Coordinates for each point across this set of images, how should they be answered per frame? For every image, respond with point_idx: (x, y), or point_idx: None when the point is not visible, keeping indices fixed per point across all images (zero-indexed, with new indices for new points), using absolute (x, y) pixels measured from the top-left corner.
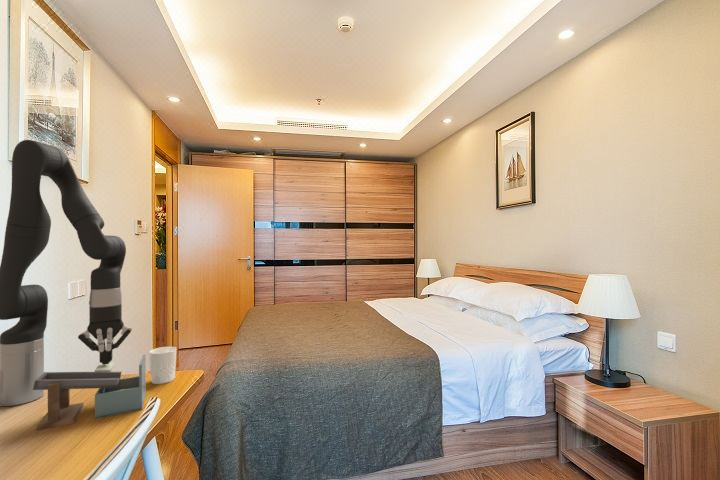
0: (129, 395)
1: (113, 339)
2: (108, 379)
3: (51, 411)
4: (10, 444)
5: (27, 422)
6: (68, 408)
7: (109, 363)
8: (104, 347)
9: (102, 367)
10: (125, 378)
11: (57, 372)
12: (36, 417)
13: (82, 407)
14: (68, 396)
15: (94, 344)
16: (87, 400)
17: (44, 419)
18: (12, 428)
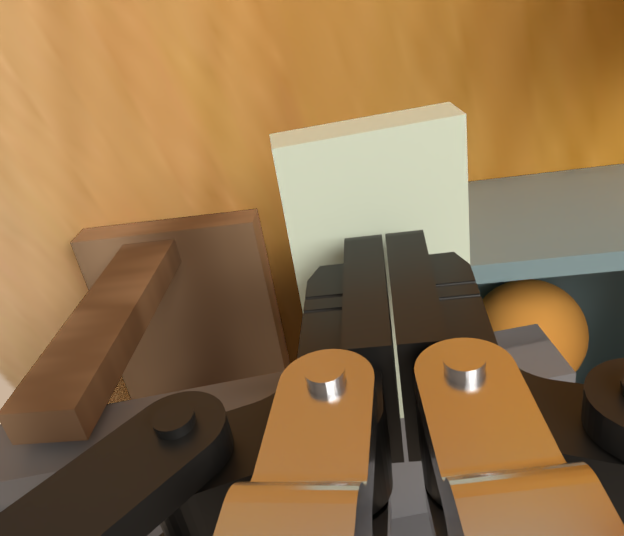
0: None
1: (590, 494)
2: None
3: None
4: None
5: (34, 314)
6: (197, 291)
7: (401, 159)
8: (380, 478)
9: None
10: (576, 264)
11: (4, 492)
12: (37, 265)
13: (263, 246)
14: (160, 301)
15: (151, 504)
16: (228, 85)
17: (142, 388)
18: (8, 357)
